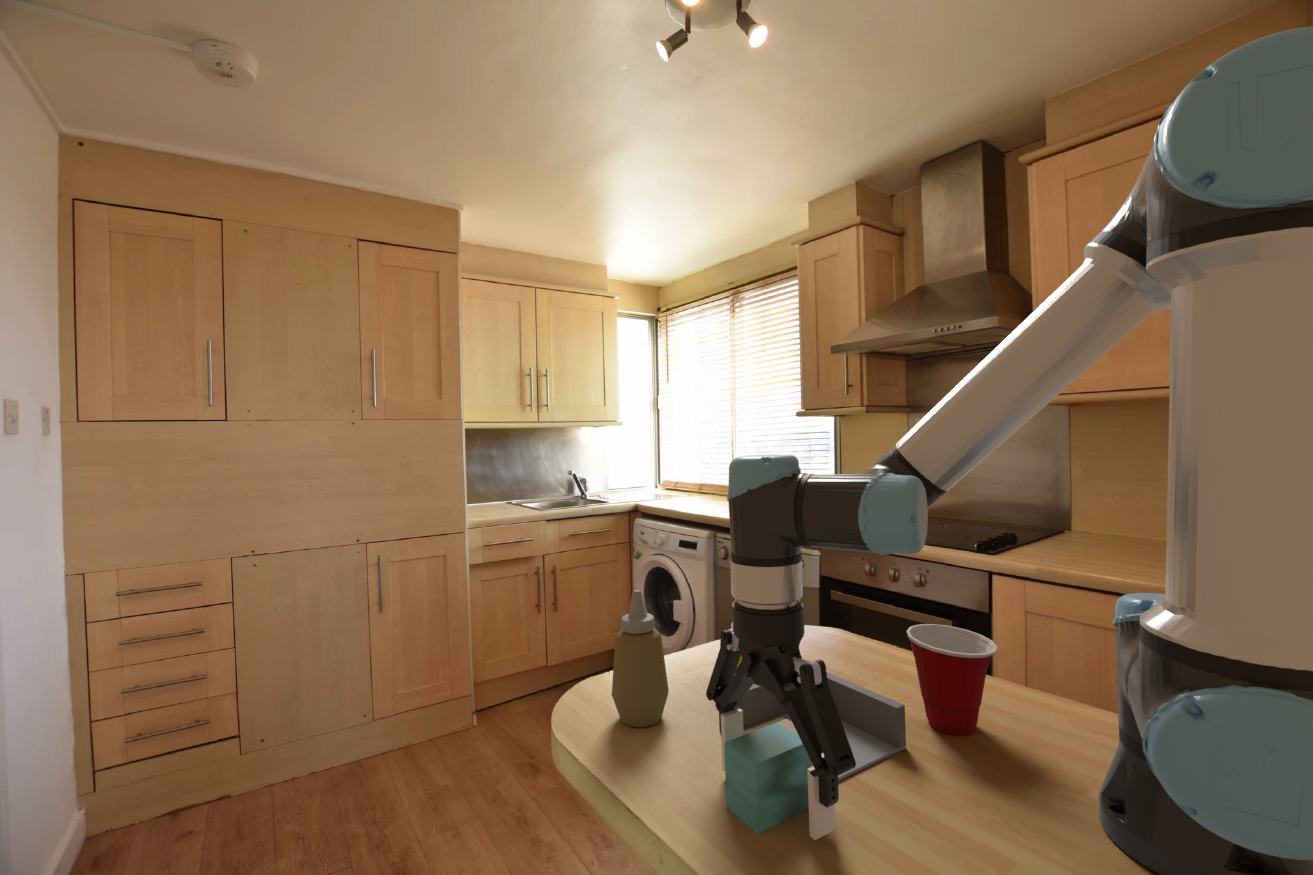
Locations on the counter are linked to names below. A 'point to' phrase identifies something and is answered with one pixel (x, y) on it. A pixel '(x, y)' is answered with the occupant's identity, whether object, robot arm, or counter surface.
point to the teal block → (767, 775)
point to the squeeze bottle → (639, 668)
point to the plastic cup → (951, 674)
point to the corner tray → (862, 713)
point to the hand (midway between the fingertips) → (774, 797)
